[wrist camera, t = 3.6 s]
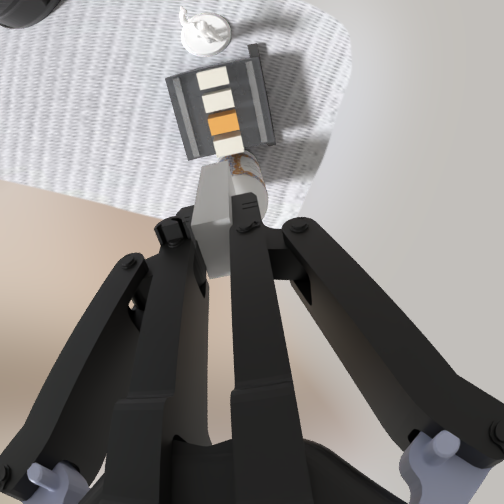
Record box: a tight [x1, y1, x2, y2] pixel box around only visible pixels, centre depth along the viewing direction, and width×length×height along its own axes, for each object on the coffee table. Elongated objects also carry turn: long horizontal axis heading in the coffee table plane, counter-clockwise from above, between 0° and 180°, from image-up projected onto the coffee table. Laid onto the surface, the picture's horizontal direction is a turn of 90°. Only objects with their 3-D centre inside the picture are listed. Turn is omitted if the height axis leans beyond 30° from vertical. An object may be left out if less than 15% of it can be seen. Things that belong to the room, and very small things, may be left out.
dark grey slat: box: [248, 43, 276, 146], centre depth 41 cm, size 16×1×1 cm, turn 11°
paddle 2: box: [202, 88, 235, 113], centre depth 35 cm, size 2×4×3 cm, turn 101°
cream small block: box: [213, 130, 244, 158], centre depth 38 cm, size 2×4×3 cm, turn 101°
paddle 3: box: [208, 109, 240, 136], centre depth 36 cm, size 2×4×3 cm, turn 101°
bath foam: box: [216, 150, 268, 219], centre depth 40 cm, size 7×7×20 cm
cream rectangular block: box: [196, 66, 229, 90], centre depth 33 cm, size 2×4×3 cm, turn 101°
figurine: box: [179, 6, 231, 57], centre depth 30 cm, size 7×7×12 cm
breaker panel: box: [165, 57, 275, 161], centre depth 39 cm, size 12×12×7 cm
